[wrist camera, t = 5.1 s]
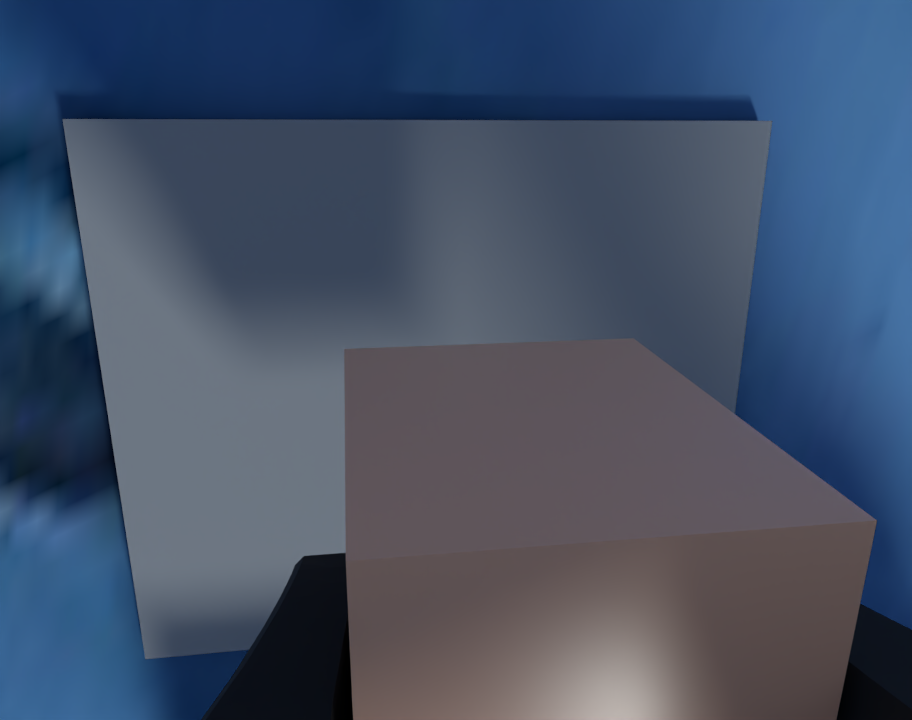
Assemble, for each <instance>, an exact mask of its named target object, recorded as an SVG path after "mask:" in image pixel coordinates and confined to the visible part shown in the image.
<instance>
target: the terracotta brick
mask: <svg viewBox="0 0 912 720" xmlns="http://www.w3.org/2000/svg"><path fill="white" fill-rule="evenodd" d="M344 383H345V528H346V578H347V599H348V621H349V642H350V664H351V685H352V707H353V720H836V719H837V714H838V709H839V704H840V700H841V695H842V690H843V685H844V680H845V675H846V670H847V665H848V660H849V655H850V651H851V646H852V641H853V636H854V631H855V626H856V621H857V616H858V611H859V607H860V602H861V597H862V592H863V587H864V582H865V577H866V572H867V567H868V562H869V558H870V553H871V548H872V543H873V538H874V533H875V528H876V523H877V520H876V519H874V518H873V517H872V516H870V515H869V514H868V513H866V512H865V511H864V510H862V509H861V508H860V507H858V506H857V505H856V504H854V503H853V502H852V501H850V500H849V499H848V498H846V497H845V496H844V495H842V494H841V493H840V492H838V491H837V490H836V489H834V488H833V487H832V486H830V485H829V484H828V483H826V482H825V481H824V480H822V479H821V478H820V477H818V476H817V475H816V474H814V473H813V472H812V471H810V470H809V469H808V468H806V467H805V466H804V465H802V464H801V463H799V462H798V461H797V460H795V459H794V458H793V457H791V456H790V455H789V454H787V453H786V452H785V451H783V450H782V449H781V448H779V447H778V446H777V445H775V444H774V443H773V442H771V441H770V440H769V439H767V438H766V437H765V436H763V435H762V434H761V433H759V432H758V431H757V430H755V429H754V428H753V427H751V426H750V425H749V424H747V423H746V422H745V421H743V420H742V419H741V418H739V417H738V416H737V415H735V414H734V413H733V412H731V411H730V410H729V409H727V408H726V407H725V406H723V405H722V404H721V403H719V402H718V401H717V400H715V399H714V398H713V397H711V396H710V395H709V394H707V393H706V392H705V391H703V390H702V389H701V388H699V387H698V386H697V385H695V384H694V383H693V382H691V381H690V380H689V379H687V378H686V377H685V376H683V375H682V374H680V373H679V372H678V371H676V370H675V369H674V368H672V367H671V366H670V365H668V364H667V363H666V362H664V361H663V360H662V359H660V358H659V357H658V356H656V355H655V354H654V353H652V352H651V351H650V350H648V349H647V348H646V347H644V346H643V345H642V344H640V343H639V342H638V341H636V340H635V339H634V338H628V339H601V340H574V341H547V342H519V343H492V344H465V345H438V346H410V347H383V348H356V349H344Z"/></svg>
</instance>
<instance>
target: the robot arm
mask: <svg viewBox="0 0 912 720" xmlns="http://www.w3.org/2000/svg"><path fill="white" fill-rule="evenodd" d="M201 720H353V707H352V685H351V664H350V642H349V621H348V599H347V578H346V553H335V554H322V555H309V556H303V557H302V558H301V559H300V560H299V561H298V562H297V563H296V564H295V566H294V569H293V571H292V574H291V576H290V578H289V580H288V582H287V584H286V586H285V588H284V590H283V592H282V594H281V596H280V598H279V600H278V602H277V604H276V606H275V607H274V609H273V611H272V613H271V614H270V616H269V618H268V620H267V621H266V623H265V625H264V627H263V628H262V630H261V631H260V633H259V635H258V636H257V638H256V639H255V641H254V643H253V644H252V646H251V647H250V649H249V651H248V652H247V654H246V655H245V657H244V659H243V660H242V662H241V664H240V665H239V667H238V668H237V670H236V671H235V673H234V674H233V676H232V677H231V679H230V680H229V682H228V683H227V684H226V686H225V687H224V689H223V690H222V691H221V693H220V694H219V696H218V697H217V698H216V700H215V701H214V703H213V704H212V705H211V707H210V708H209V710H208V711H207V712H206V714H205V715H204V716H203V718H202V719H201ZM836 720H912V630H911V629H909V628H907V627H905V626H903V625H901V624H899V623H897V622H895V621H893V620H891V619H889V618H887V617H885V616H883V615H881V614H879V613H877V612H875V611H873V610H871V609H869V608H867V607H865V606H864V605H862V604H860V607H859V611H858V616H857V621H856V626H855V631H854V636H853V641H852V646H851V651H850V655H849V660H848V665H847V670H846V675H845V680H844V685H843V690H842V695H841V700H840V704H839V709H838V714H837V719H836Z"/></svg>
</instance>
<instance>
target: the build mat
mask: <svg viewBox="0 0 912 720" xmlns="http://www.w3.org/2000/svg"><path fill="white" fill-rule="evenodd" d="M63 126H64V132H65V139H66V145H67V152H68V158H69V165H70V171H71V178H72V184H73V191H74V197H75V204H76V210H77V217H78V223H79V230H80V236H81V243H82V249H83V256H84V262H85V269H86V275H87V282H88V288H89V295H90V301H91V308H92V315H93V321H94V328H95V334H96V341H97V347H98V354H99V360H100V367H101V373H102V380H103V386H104V393H105V399H106V406H107V412H108V419H109V425H110V432H111V438H112V445H113V451H114V458H115V464H116V471H117V477H118V484H119V490H120V497H121V503H122V510H123V516H124V523H125V529H126V536H127V543H128V549H129V556H130V562H131V569H132V575H133V582H134V588H135V595H136V601H137V608H138V614H139V621H140V627H141V634H142V640H143V647H144V653H145V659H154V658H165V657H176V656H186V655H197V654H208V653H219V652H229V651H240V650H249V649H250V647H251V646H252V644H253V643H254V641H255V639H256V638H257V636H258V635H259V633H260V631H261V630H262V628H263V627H264V625H265V623H266V621H267V620H268V618H269V616H270V614H271V613H272V611H273V609H274V607H275V606H276V604H277V602H278V600H279V598H280V596H281V594H282V592H283V590H284V588H285V586H286V584H287V582H288V580H289V578H290V576H291V574H292V571H293V569H294V566H295V564H296V563H297V562H298V561H299V560H300V559H301V558H302V557H303V556H309V555H322V554H335V553H346V528H345V383H344V349H356V348H383V347H410V346H438V345H465V344H492V343H519V342H547V341H574V340H601V339H628V338H634V339H635V340H636V341H638V342H639V343H640V344H642V345H643V346H644V347H646V348H647V349H648V350H650V351H651V352H652V353H654V354H655V355H656V356H658V357H659V358H660V359H662V360H663V361H664V362H666V363H667V364H668V365H670V366H671V367H672V368H674V369H675V370H676V371H678V372H679V373H680V374H682V375H683V376H685V377H686V378H687V379H689V380H690V381H691V382H693V383H694V384H695V385H697V386H698V387H699V388H701V389H702V390H703V391H705V392H706V393H707V394H709V395H710V396H711V397H713V398H714V399H715V400H717V401H718V402H719V403H721V404H722V405H723V406H725V407H726V408H727V409H729V410H730V411H731V412H733V413H734V414H735V409H736V401H737V393H738V385H739V377H740V369H741V362H742V354H743V346H744V338H745V330H746V322H747V314H748V307H749V299H750V291H751V283H752V275H753V267H754V260H755V252H756V244H757V236H758V228H759V220H760V212H761V205H762V197H763V189H764V181H765V173H766V165H767V158H768V150H769V142H770V134H771V126H772V121H635V120H266V119H63Z"/></svg>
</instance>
